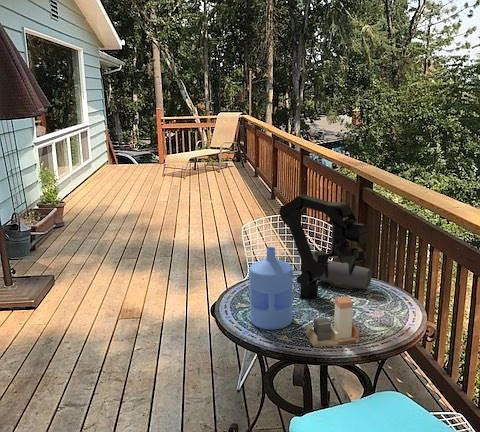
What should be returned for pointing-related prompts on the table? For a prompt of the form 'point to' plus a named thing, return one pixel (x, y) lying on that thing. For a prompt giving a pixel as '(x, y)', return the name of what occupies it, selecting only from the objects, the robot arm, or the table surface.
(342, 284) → the bluetooth speaker
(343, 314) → the plug
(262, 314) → the water jug
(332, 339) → the comb rack
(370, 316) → the table surface
